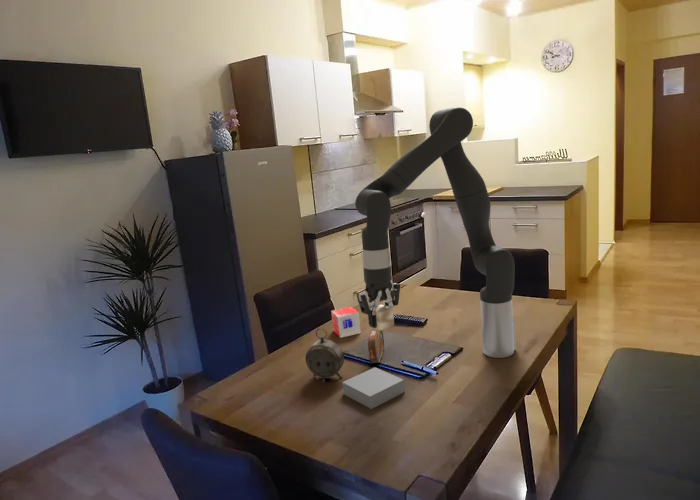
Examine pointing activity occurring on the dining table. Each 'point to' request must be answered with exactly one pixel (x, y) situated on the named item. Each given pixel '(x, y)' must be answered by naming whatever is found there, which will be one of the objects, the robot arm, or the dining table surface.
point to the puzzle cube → (346, 321)
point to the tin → (375, 345)
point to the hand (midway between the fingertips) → (381, 324)
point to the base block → (373, 387)
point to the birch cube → (384, 317)
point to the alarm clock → (324, 358)
